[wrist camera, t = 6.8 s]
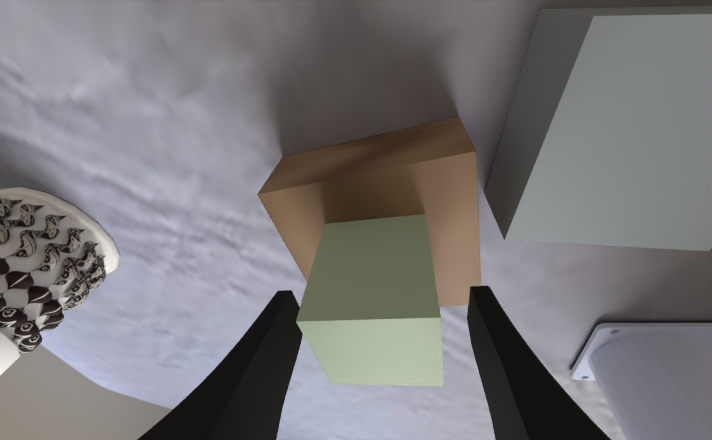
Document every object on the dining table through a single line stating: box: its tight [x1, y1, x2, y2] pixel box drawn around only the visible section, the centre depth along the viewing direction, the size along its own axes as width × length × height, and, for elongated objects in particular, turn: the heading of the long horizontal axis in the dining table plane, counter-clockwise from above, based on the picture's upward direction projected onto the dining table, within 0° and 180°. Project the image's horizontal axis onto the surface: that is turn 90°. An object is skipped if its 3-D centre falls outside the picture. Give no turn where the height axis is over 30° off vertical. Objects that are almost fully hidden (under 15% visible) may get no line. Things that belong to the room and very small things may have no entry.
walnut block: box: [257, 117, 481, 307], centre depth 16 cm, size 9×9×4 cm
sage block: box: [296, 214, 444, 386], centre depth 12 cm, size 4×4×5 cm
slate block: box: [484, 5, 712, 251], centre depth 11 cm, size 8×8×4 cm
